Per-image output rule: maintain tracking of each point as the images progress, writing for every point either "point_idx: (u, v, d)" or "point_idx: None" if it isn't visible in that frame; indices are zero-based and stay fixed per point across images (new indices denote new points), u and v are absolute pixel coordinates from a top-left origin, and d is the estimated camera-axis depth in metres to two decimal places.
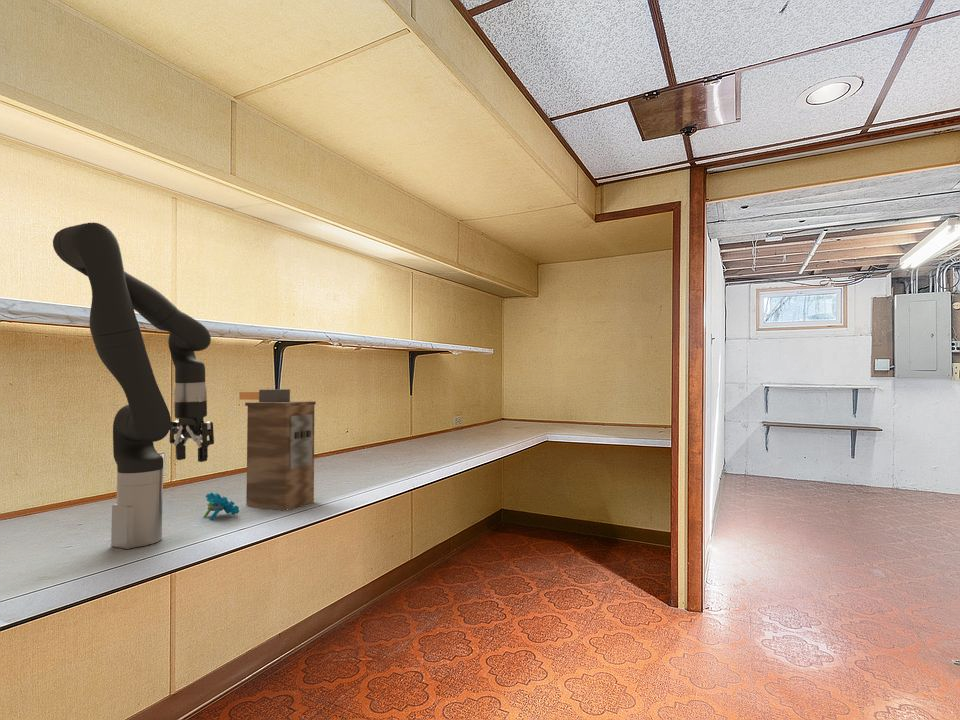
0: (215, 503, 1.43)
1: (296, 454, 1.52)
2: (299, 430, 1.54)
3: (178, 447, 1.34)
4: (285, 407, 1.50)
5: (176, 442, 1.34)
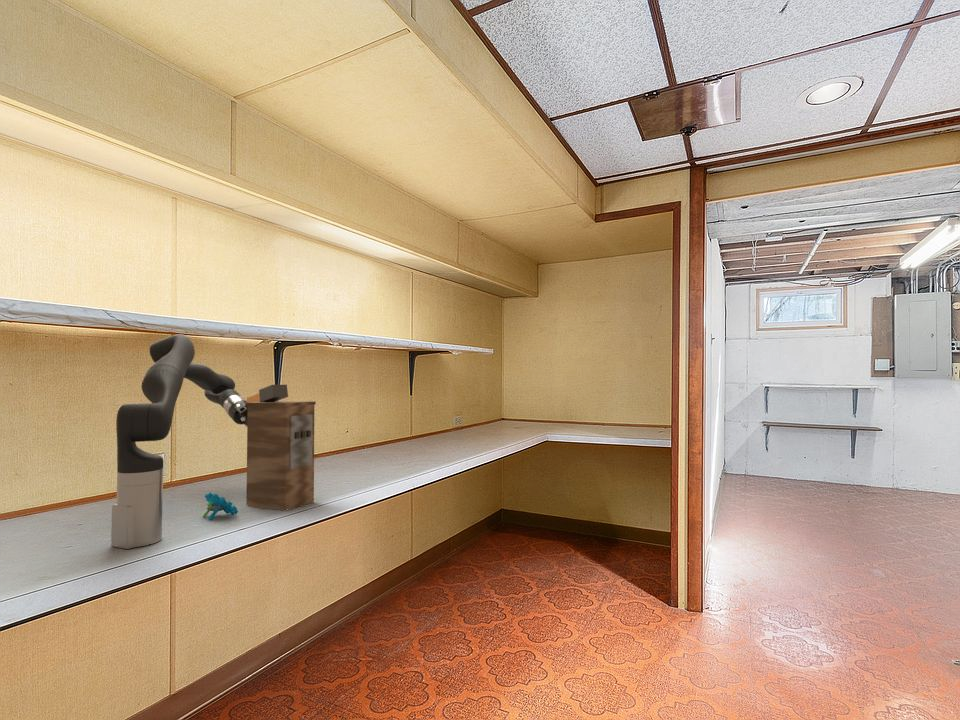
0: (214, 503, 1.42)
1: (296, 454, 1.52)
2: (299, 430, 1.54)
3: None
4: (285, 407, 1.50)
5: None
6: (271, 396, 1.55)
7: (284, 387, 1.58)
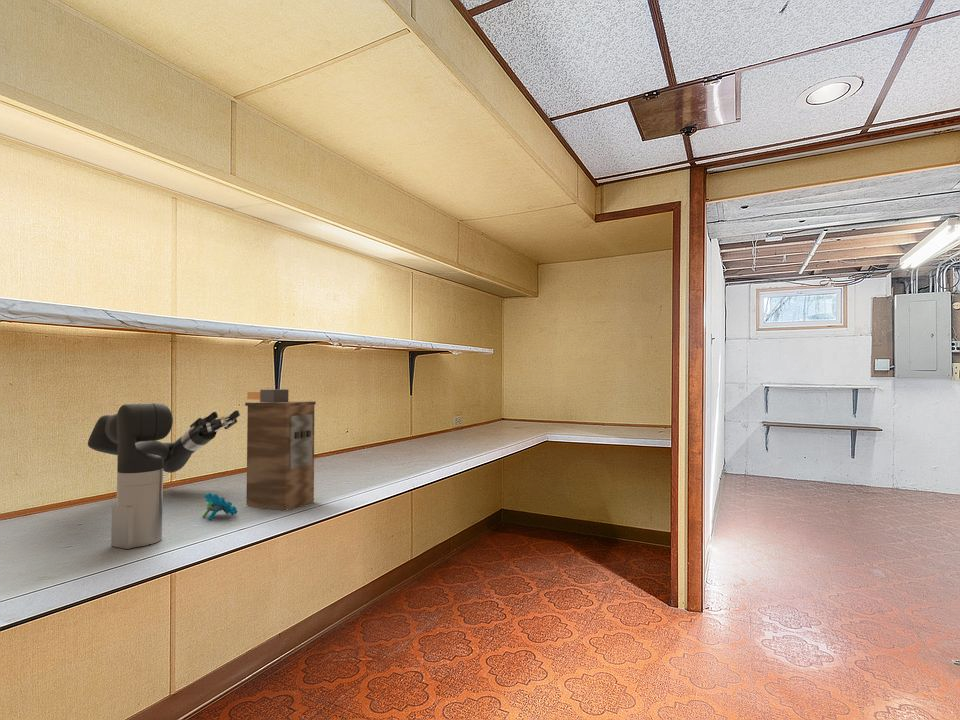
0: (214, 503, 1.42)
1: (296, 454, 1.52)
2: (299, 430, 1.54)
3: (232, 419, 1.73)
4: (285, 407, 1.50)
5: (230, 422, 1.73)
6: (271, 401, 1.55)
7: (285, 392, 1.58)
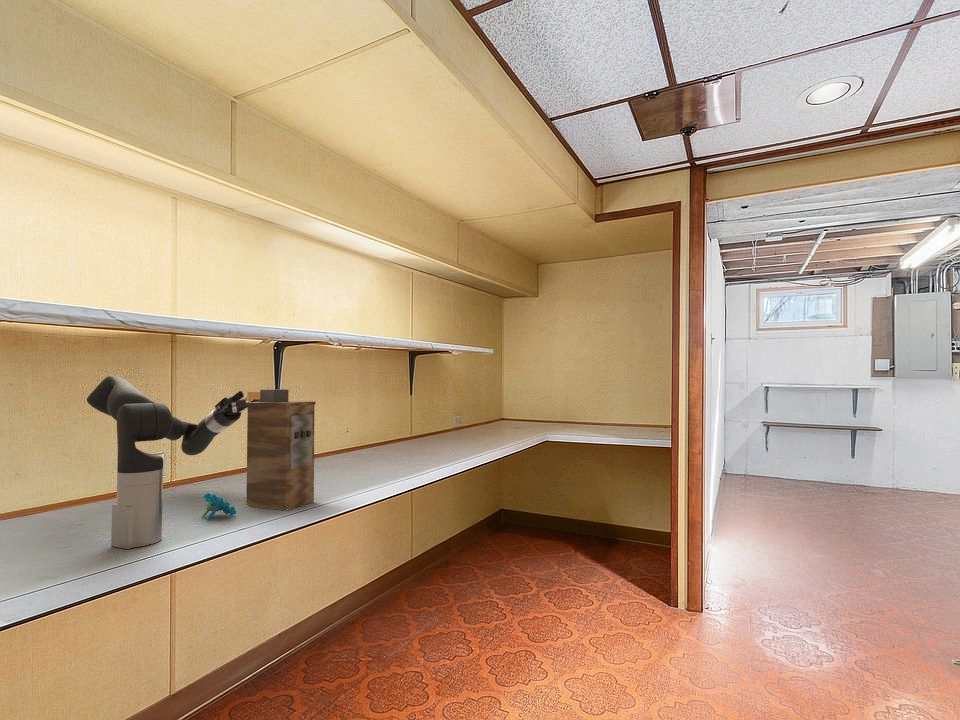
0: (213, 503, 1.42)
1: (296, 454, 1.52)
2: (299, 430, 1.54)
3: (257, 400, 1.68)
4: (285, 407, 1.50)
5: None
6: (271, 401, 1.55)
7: (285, 392, 1.58)
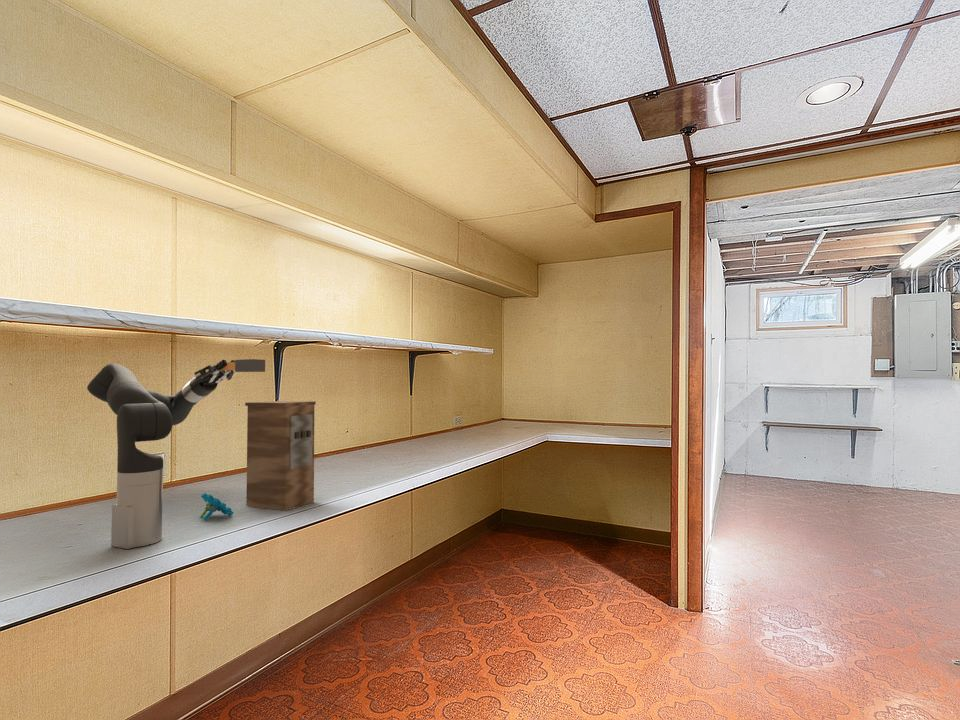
0: (211, 504, 1.42)
1: (296, 454, 1.52)
2: (299, 430, 1.54)
3: None
4: (285, 407, 1.50)
5: (227, 372, 1.72)
6: (250, 370, 1.61)
7: (263, 362, 1.65)
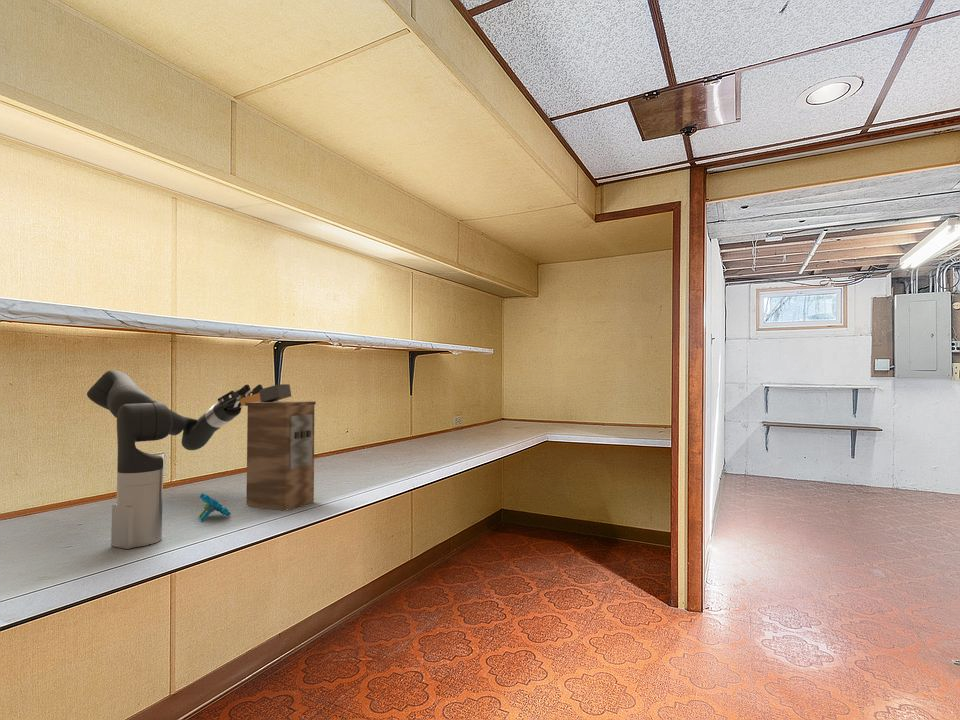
0: (209, 504, 1.42)
1: (296, 454, 1.52)
2: (299, 430, 1.54)
3: None
4: (285, 407, 1.50)
5: None
6: (276, 396, 1.56)
7: (287, 387, 1.60)
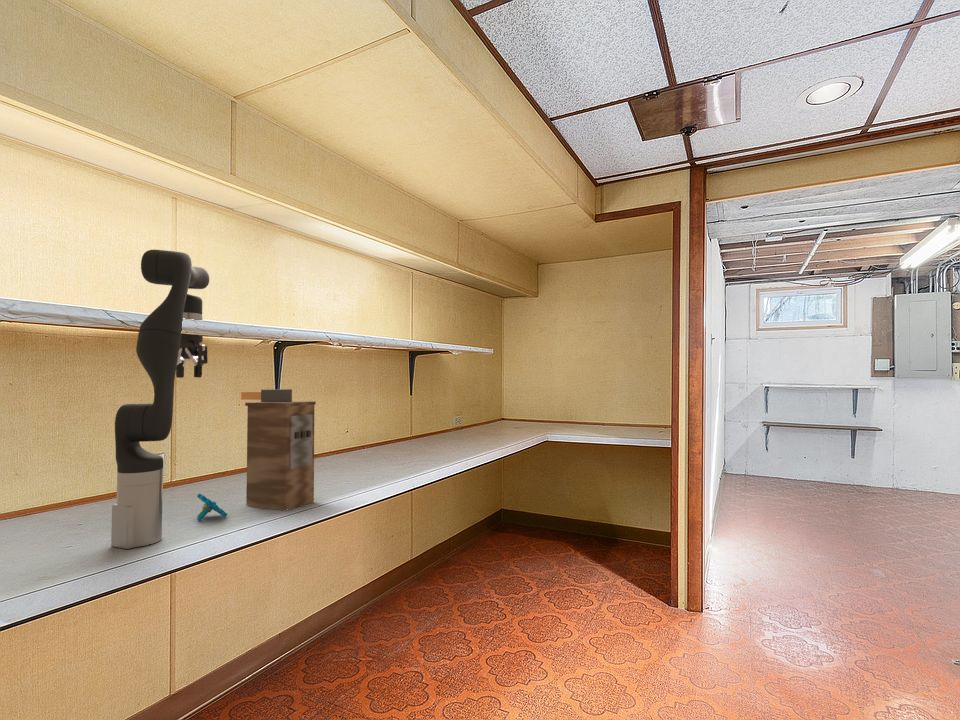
0: (207, 504, 1.42)
1: (296, 454, 1.52)
2: (299, 430, 1.54)
3: (178, 367, 1.63)
4: (285, 407, 1.50)
5: (176, 362, 1.63)
6: (277, 400, 1.56)
7: (289, 392, 1.59)
